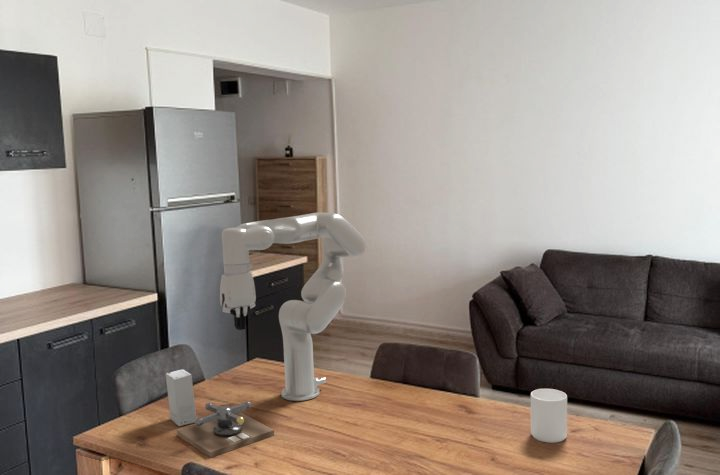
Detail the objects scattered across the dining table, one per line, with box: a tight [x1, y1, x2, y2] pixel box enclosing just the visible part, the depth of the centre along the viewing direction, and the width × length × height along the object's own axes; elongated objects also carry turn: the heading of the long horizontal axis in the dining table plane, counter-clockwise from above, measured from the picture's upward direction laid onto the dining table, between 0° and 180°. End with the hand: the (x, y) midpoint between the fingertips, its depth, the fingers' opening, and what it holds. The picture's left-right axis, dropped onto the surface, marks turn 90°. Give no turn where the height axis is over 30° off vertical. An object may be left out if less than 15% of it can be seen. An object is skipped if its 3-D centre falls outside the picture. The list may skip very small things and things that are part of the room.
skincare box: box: [165, 369, 197, 427], centre depth 200 cm, size 8×6×15 cm
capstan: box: [194, 400, 252, 437], centre depth 188 cm, size 18×18×6 cm
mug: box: [530, 388, 568, 444], centre depth 181 cm, size 10×12×12 cm
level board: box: [176, 411, 275, 458], centre depth 189 cm, size 20×20×2 cm
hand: (240, 328), depth 200 cm, fingers closed
